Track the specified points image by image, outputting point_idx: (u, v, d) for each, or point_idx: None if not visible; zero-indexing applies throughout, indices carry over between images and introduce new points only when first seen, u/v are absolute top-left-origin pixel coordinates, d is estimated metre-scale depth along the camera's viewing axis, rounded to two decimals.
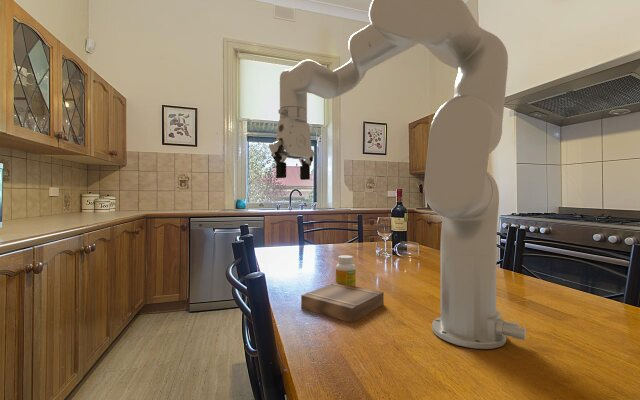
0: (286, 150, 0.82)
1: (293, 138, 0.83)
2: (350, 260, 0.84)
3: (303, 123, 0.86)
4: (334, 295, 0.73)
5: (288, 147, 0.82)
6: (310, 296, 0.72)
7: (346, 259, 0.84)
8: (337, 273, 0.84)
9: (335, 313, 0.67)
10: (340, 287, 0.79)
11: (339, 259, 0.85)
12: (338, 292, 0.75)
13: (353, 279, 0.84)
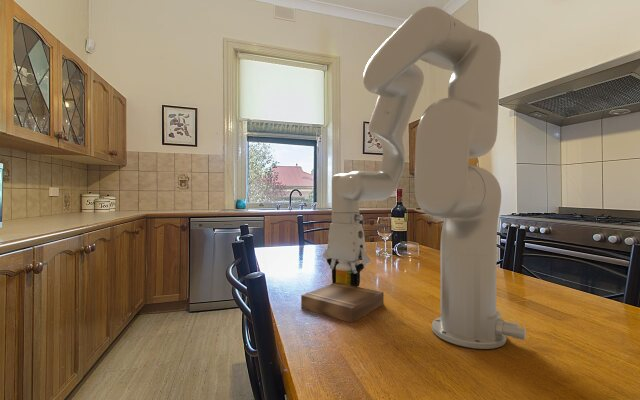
0: None
1: None
2: None
3: None
4: (334, 295, 0.73)
5: None
6: (310, 296, 0.72)
7: None
8: (337, 273, 0.84)
9: (335, 313, 0.67)
10: (340, 287, 0.79)
11: None
12: (338, 292, 0.75)
13: None
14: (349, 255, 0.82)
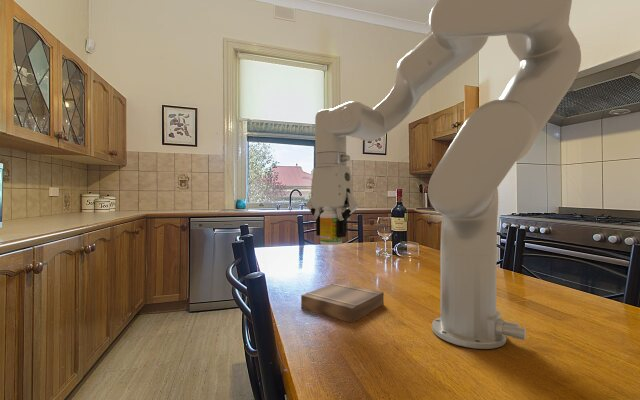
0: None
1: None
2: None
3: None
4: (334, 295, 0.73)
5: None
6: (310, 296, 0.72)
7: None
8: (321, 221, 0.75)
9: (335, 313, 0.67)
10: (340, 287, 0.79)
11: None
12: (338, 292, 0.75)
13: None
14: (334, 200, 0.73)
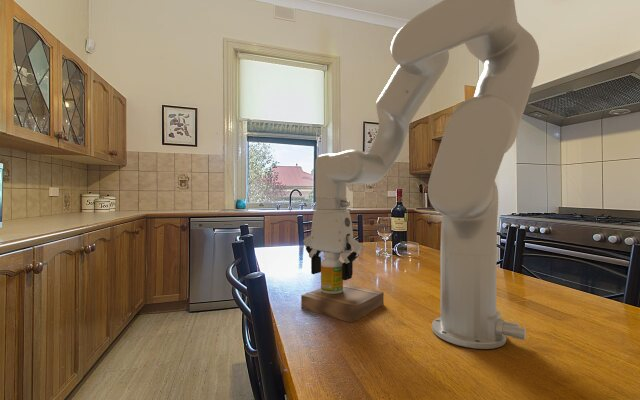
0: (352, 247, 0.75)
1: None
2: (337, 255, 0.75)
3: None
4: (334, 295, 0.73)
5: None
6: (310, 296, 0.72)
7: (332, 254, 0.74)
8: (322, 270, 0.75)
9: (335, 313, 0.67)
10: None
11: (324, 254, 0.75)
12: None
13: (340, 277, 0.74)
14: (334, 245, 0.73)
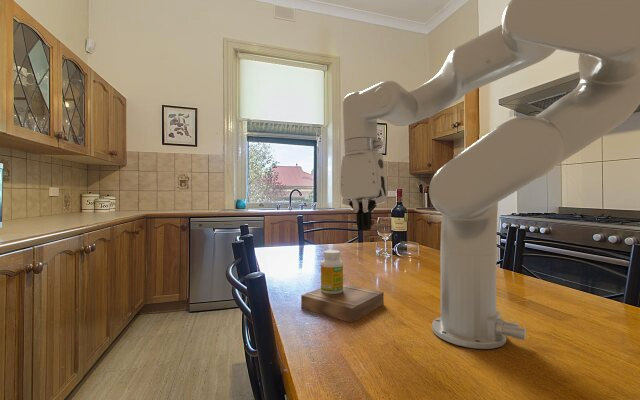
0: (387, 192, 0.69)
1: None
2: (337, 255, 0.75)
3: None
4: (334, 295, 0.73)
5: None
6: (310, 296, 0.72)
7: (332, 254, 0.74)
8: (322, 270, 0.75)
9: (335, 313, 0.67)
10: None
11: (324, 254, 0.75)
12: None
13: (340, 277, 0.74)
14: (368, 189, 0.67)
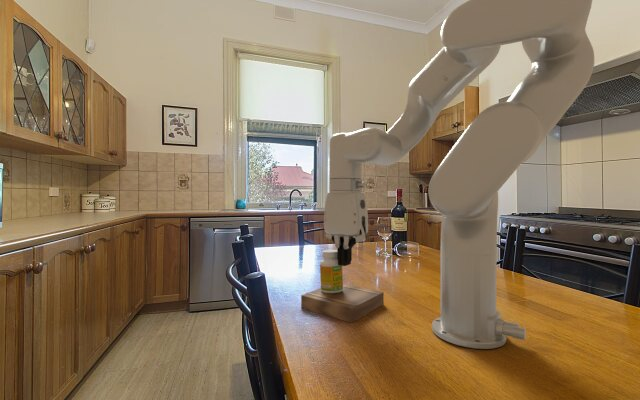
0: (367, 230, 0.72)
1: None
2: (335, 255, 0.75)
3: None
4: (334, 295, 0.73)
5: None
6: (310, 296, 0.72)
7: (331, 253, 0.74)
8: (321, 269, 0.75)
9: (335, 313, 0.67)
10: None
11: (323, 254, 0.76)
12: None
13: (339, 276, 0.75)
14: (349, 228, 0.70)
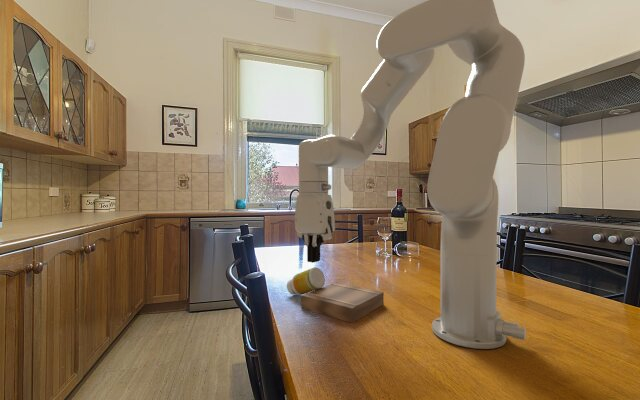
0: (334, 229, 0.78)
1: None
2: (290, 280, 0.83)
3: None
4: (334, 295, 0.73)
5: None
6: (310, 296, 0.72)
7: (287, 283, 0.83)
8: (298, 289, 0.79)
9: (335, 313, 0.67)
10: (340, 287, 0.79)
11: (290, 291, 0.82)
12: (338, 292, 0.75)
13: None
14: (316, 227, 0.76)
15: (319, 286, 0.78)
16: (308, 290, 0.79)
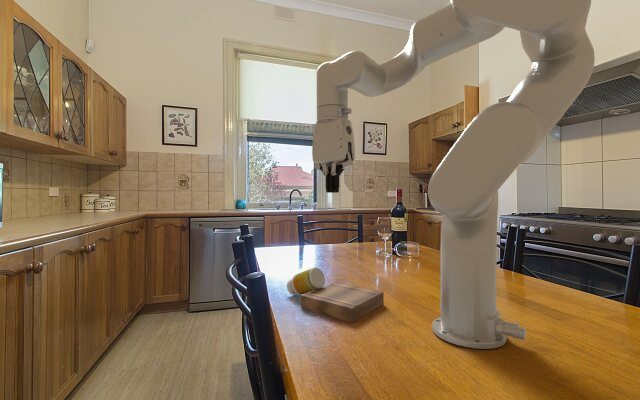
0: (354, 157, 0.74)
1: None
2: (290, 280, 0.83)
3: None
4: (334, 295, 0.73)
5: None
6: (310, 296, 0.72)
7: (288, 283, 0.83)
8: (298, 289, 0.79)
9: (335, 313, 0.67)
10: (340, 287, 0.79)
11: (290, 291, 0.82)
12: (338, 292, 0.75)
13: None
14: (336, 153, 0.72)
15: (319, 286, 0.78)
16: (308, 290, 0.79)
